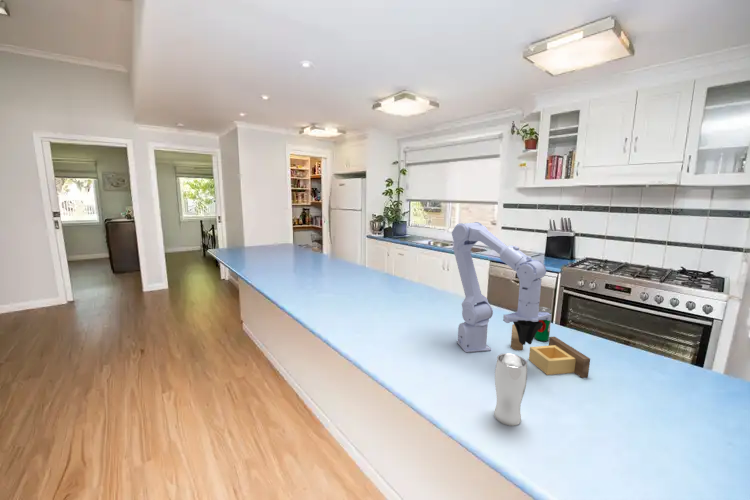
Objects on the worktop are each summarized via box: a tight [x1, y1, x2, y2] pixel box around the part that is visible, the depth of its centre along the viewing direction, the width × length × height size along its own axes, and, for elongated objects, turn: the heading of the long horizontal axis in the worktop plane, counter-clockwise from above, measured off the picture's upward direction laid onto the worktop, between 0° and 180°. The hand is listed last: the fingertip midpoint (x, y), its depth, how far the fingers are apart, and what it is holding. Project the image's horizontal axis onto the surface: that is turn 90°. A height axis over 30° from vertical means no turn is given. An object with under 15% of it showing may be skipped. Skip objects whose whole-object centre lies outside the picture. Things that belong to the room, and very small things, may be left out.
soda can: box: [533, 306, 553, 342], centre depth 120 cm, size 5×5×12 cm
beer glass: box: [493, 353, 528, 427], centre depth 77 cm, size 7×7×15 cm
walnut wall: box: [548, 336, 591, 379], centre depth 102 cm, size 2×15×6 cm, turn 8°
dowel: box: [510, 323, 524, 351], centre depth 113 cm, size 4×4×8 cm
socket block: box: [528, 345, 576, 376], centre depth 101 cm, size 9×9×4 cm
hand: (525, 343), depth 99 cm, fingers closed
